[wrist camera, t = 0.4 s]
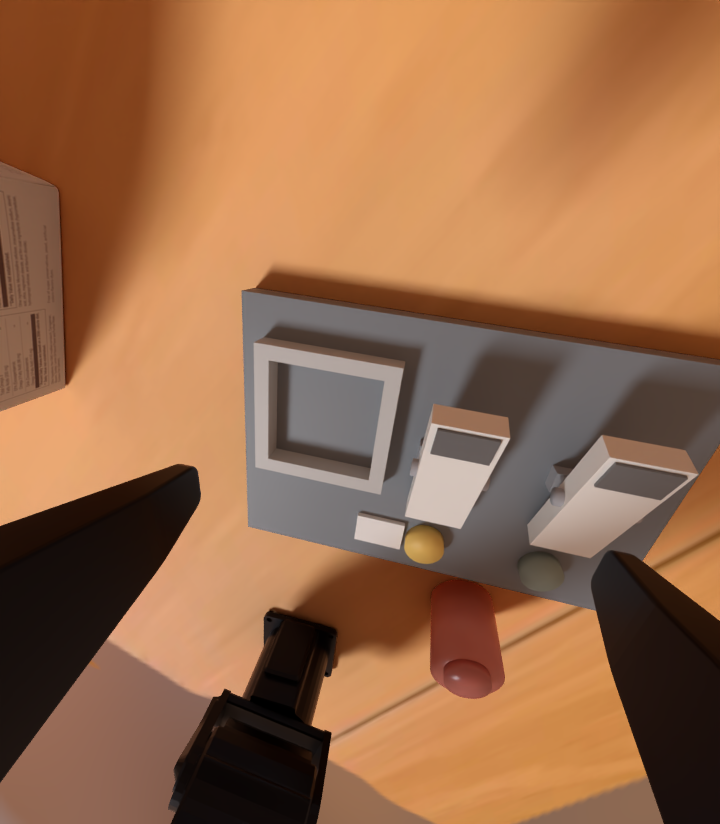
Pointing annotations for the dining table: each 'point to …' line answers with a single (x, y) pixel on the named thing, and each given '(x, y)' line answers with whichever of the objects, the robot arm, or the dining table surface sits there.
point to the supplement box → (29, 289)
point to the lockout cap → (465, 640)
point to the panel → (408, 419)
